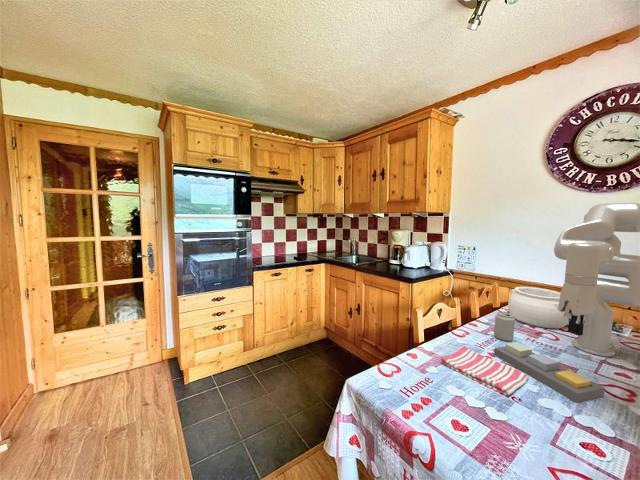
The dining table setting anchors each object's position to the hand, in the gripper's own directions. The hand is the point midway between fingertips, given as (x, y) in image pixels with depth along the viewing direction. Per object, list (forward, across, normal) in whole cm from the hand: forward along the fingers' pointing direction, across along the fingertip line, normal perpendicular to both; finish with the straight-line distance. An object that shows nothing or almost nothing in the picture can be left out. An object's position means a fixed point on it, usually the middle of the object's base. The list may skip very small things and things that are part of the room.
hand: (575, 333), depth 85 cm
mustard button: (+17, +3, +2) cm, 17 cm away
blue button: (+16, +3, -7) cm, 17 cm away
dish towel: (+18, +23, -13) cm, 32 cm away
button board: (+18, +3, -7) cm, 20 cm away
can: (+19, -9, -32) cm, 38 cm away
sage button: (+16, +3, -16) cm, 22 cm away
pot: (+20, -48, -44) cm, 69 cm away
